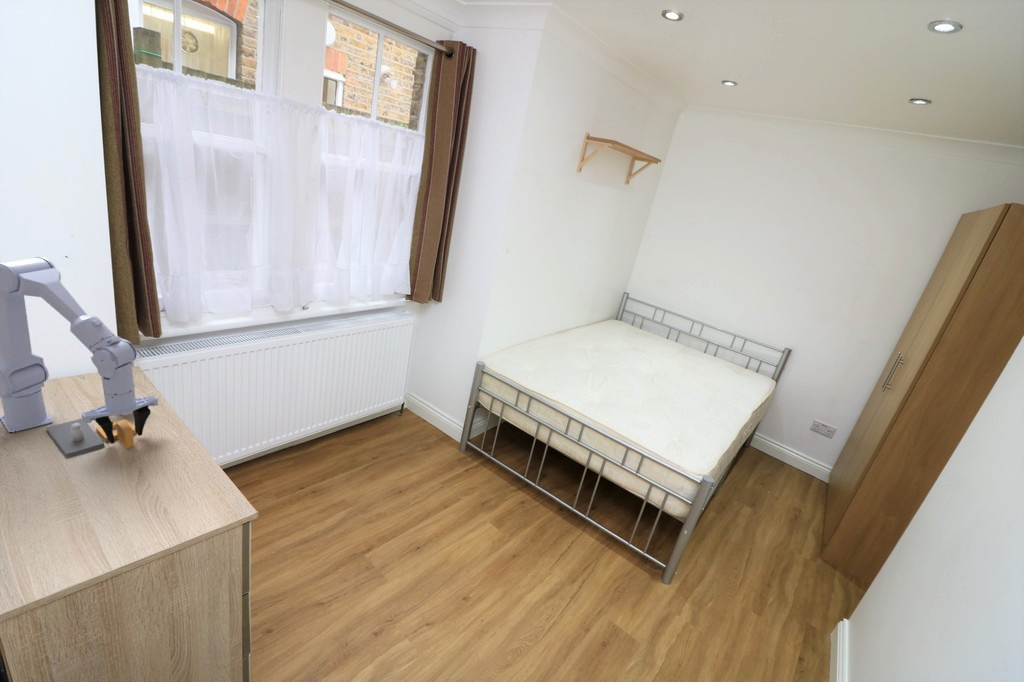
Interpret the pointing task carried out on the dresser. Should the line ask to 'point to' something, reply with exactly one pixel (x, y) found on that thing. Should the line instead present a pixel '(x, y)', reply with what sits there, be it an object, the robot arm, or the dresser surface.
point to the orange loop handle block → (121, 433)
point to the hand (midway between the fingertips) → (125, 437)
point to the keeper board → (67, 438)
